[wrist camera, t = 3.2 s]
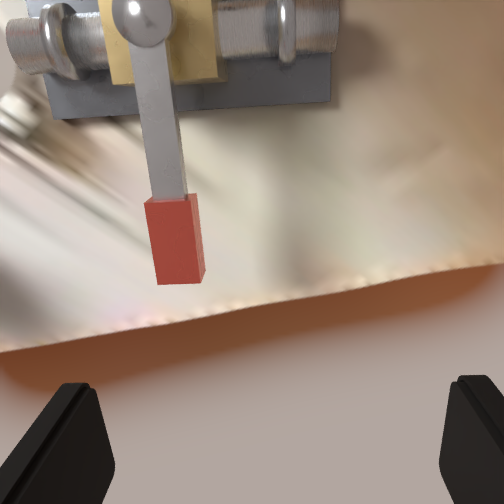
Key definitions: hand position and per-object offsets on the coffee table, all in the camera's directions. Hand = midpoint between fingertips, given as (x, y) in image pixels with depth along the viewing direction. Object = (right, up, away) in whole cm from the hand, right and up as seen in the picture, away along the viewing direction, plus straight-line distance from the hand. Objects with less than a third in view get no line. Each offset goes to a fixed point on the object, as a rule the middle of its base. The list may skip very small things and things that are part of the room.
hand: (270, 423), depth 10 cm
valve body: (-5, +19, +17) cm, 26 cm away
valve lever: (-5, +10, +12) cm, 17 cm away
